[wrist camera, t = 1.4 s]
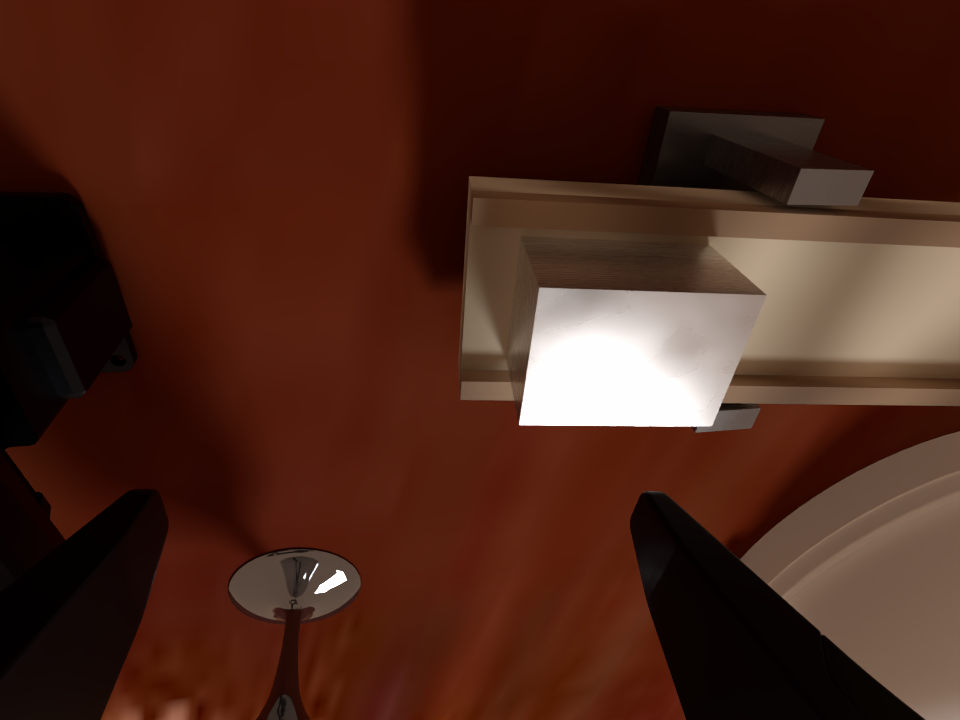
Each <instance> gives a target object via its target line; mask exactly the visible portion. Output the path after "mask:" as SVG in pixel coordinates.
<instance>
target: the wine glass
mask: <svg viewBox="0 0 960 720" xmlns="http://www.w3.org/2000/svg"><path fill="white" fill-rule="evenodd" d="M360 588H361V578H360V574H359V572H358V570H357V569H356V568H355V567H354V566H353V565H352V564H351V563H350V562H349V561H347V560H346V559H344V558H342V557H340V556H338V555H336V554H333V553H330V552H327V551H321V550H316V549H304V548H301V549H286V550H279V551H275V552H271V553H267V554H264V555H261V556H259V557H256V558H254V559H252V560H251V561H249V562H247V563H246V564H244V565H243V566H242V567H240V568H239V569H238V570H237V571H236V572H235V573H234V575H233V576H232V578H231V580H230V582H229V587H228V592H229V597H230V599H231V602H232V603H233V605H234V606H235V607H236V608H237V609H238V610H239V611H241V612H242V613H243V614H245V615H247V616H249V617H251V618H253V619H256V620H259V621H263V622H267V623H273V624H285V629H284V637H283V644H282V649H281V654H280V659H279V663H278V667H277V671H276V675H275V679H274V683H273V686H272V690H271V692H270V695H269V698H268V700H267V702H266V704H265V706H264V707H263V709H262V711H261V713H260V714H259V716H258V717H257V719H256V720H310V718H309V716H308V714H307V713H306V711H305V708H304V706H303V703H302V700H301V696H300V690H299V676H298V643H299V631H300V624H304V623H311V622H315V621H319V620H323V619H325V618H328V617H331V616H333V615H335V614H337V613H339V612H341V611H342V610H344V609H345V608H347V607H348V606H349V605H350V604H351V603H352V602H353V601H354V600H355V598H356V597H357V596H358V593H359V591H360Z"/></svg>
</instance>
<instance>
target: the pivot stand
mask: <svg viewBox="0 0 960 720" xmlns="http://www.w3.org/2000/svg"><path fill="white" fill-rule="evenodd" d="M824 121H825V119H823V118H819V117H815V116H811V115H807V114H795V113H776V112H757V111H738V110H719V109H700V108H681V107H661V106H657V107H656V111H655V115H654V120H653V124H652V128H651V132H650V137H649V141H648V145H647V149H646V154H645V158H644V162H643V166H642V170H641V175H640V179H639V183H638V185H644V186H663V187H681V188H700V189H718V190H737V191H749V190H750V188H751V187H752V188H754V189H756V190H758V191H760V192H762V193H764V194H766V195H768V196H770V197H772V198H774V199H776V200H778V201H780V202H782V203H784V204H786V205H845V206H858V204H859V202H860V200H861V198H862V195H863V193H864V191H865V189H866V187H867V185H868V183H869V181H870V179H871V177H872V175H873V172H874V170H871V169H868V168H865V167H862V166H859V165H856V164H853V163H850V162H847V161H844V160H841V159H838V158H835V157H832V156H829V155H826V154H823V153H820V152H817V151H814V150H813V148H814V145H815V143H816V140H817V138H818V136H819V133H820V131H821V128H822V126H823V123H824ZM760 409H761V408H760V407H759V406H758V405H757V404H756V403H721V406H720V408H719V411H718V413H717V415H716V418H715V420H714V422H713V425H712V426H691V427H692V429H693V430H694V431H695V433H696V432H709V431H721V430H734V429H747V428H752V425H753V423H754V421H755V419H756V417H757V415H758V413H759V411H760Z"/></svg>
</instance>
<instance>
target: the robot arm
mask: <svg viewBox="0 0 960 720" xmlns="http://www.w3.org/2000/svg"><path fill="white" fill-rule="evenodd" d="M58 205H61V206H64V207H66V208H67V209H68V210H69V211H70V213H71V217H68V216H65V215H63V214H62V213H61V212H60V211H59V210H58ZM131 328H132V323H131V320H130V317H129V314H128V311H127V308H126V306H125V303H124V300H123V297H122V294H121V291H120V288H119V286H118V283H117V280H116V277H115V274H114V271H113V268H112V266H111V264H110V263H109V262H108V261H107V260H106V259H104V258H103V257H102V255H101V252H100V249H99V246H98V243H97V241H96V238H95V235H94V232H93V229H92V227H91V224H90V221H89V218H88V215H87V213H86V210H85V208H84V206H83V204H82V203H81V202H80V201H79V200H78V199H77V198H75V197H73V196H71V195H69V194H64V193H28V192H0V720H100V719H101V717H102V715H103V712H104V710H105V707H106V705H107V703H108V700H109V698H110V695H111V693H112V691H113V688H114V686H115V683H116V681H117V679H118V676H119V674H120V671H121V669H122V667H123V664H124V662H125V659H126V657H127V654H128V652H129V650H130V647H131V645H132V642H133V640H134V638H135V635H136V633H137V630H138V628H139V625H140V622H141V620H142V617H143V614H144V611H145V608H146V605H147V601H148V598H149V594H150V591H151V587H152V584H153V581H154V577H155V574H156V570H157V567H158V563H159V560H160V556H161V553H162V550H163V546H164V543H165V539H166V536H167V532H168V517H167V514H166V511H165V508H164V505H163V502H162V498H161V495H160V493H159V492H158V491H157V490H154V489H133V490H130V491H128V492H127V493H125V494H124V495H123V496H121V497H120V498H119V499H118V500H116V501H115V502H114V503H113V504H111V505H110V506H109V507H107V508H106V509H105V510H104V511H102V512H101V513H100V514H99V515H97V516H96V517H95V518H94V519H92V520H91V521H90V522H88V523H87V524H86V525H85V526H83V527H82V528H81V529H80V530H78V531H77V532H76V533H75V534H73V535H72V536H71V537H69V538H68V539H67V540H65V539H64V538H63V536H62V535H61V533H60V532H59V531H58V529H57V528H56V527H55V525H54V524H53V523H52V521H51V520H50V511H51V506H50V504H49V502H48V501H47V500H46V498H45V497H44V496H43V494H42V493H40V492H35V490H34V489H33V488H32V486H31V485H30V484H29V482H28V481H27V480H26V478H25V477H24V475H23V474H22V473H21V471H20V470H19V469H18V467H17V466H16V464H15V463H14V462H13V460H12V459H11V458H10V456H9V455H8V454H7V452H6V451H5V449H6V448H9V447H16V446H30V445H33V444H35V443H36V442H37V441H38V440H39V438H40V437H41V436H42V434H43V433H44V432H45V430H46V429H47V428H48V426H49V425H50V424H51V422H52V421H53V419H54V418H55V417H56V415H57V414H58V413H59V411H60V410H61V409H62V407H63V406H64V405H65V403H66V402H67V400H68V399H74V398H80V397H82V396H83V395H84V394H85V392H86V391H87V390H88V389H89V387H90V386H91V384H92V383H93V382H94V380H95V379H96V377H97V376H98V375H99V373H104V372H123V371H128V370H129V369H131V368H132V367H133V365H134V363H135V362H136V360H137V353H136V350H135V347H134V344H133V342H132V339H131V336H130V333H129V331H130V329H131ZM115 355H120V356H122V357H124V358H125V360H120V359H118V358H116V356H115ZM630 529H631V534H632V539H633V543H634V548H635V552H636V557H637V561H638V566H639V570H640V575H641V579H642V584H643V588H644V592H645V596H646V600H647V604H648V607H649V610H650V613H651V616H652V619H653V622H654V625H655V628H656V631H657V634H658V637H659V640H660V643H661V646H662V649H663V652H664V655H665V658H666V661H667V664H668V667H669V670H670V673H671V676H672V679H673V682H674V685H675V688H676V691H677V694H678V697H679V700H680V703H681V706H682V709H683V712H684V715H685V718H686V720H925V719H924V718H923V717H922V716H920V715H919V714H918V713H917V712H915V711H914V710H913V709H911V708H910V707H909V706H908V705H906V704H905V703H904V702H903V701H902V700H900V699H899V698H898V697H897V696H895V695H894V694H893V693H892V692H890V691H889V690H888V689H887V688H886V687H884V686H883V685H882V684H881V683H879V682H878V681H877V680H876V679H874V678H873V677H872V676H871V675H870V674H869V673H867V672H866V671H865V670H864V669H863V668H862V667H860V666H859V665H858V664H857V663H856V662H855V661H854V660H852V659H851V658H850V657H849V656H848V655H847V654H845V653H844V652H843V651H842V650H841V649H840V648H839V647H837V646H836V645H835V644H834V643H833V642H832V641H831V640H830V639H829V638H827V637H826V636H825V635H821V632H820V631H819V630H818V629H817V628H816V627H815V626H814V625H813V624H811V623H810V622H809V621H808V620H807V619H806V618H805V617H804V616H803V615H801V614H800V613H799V612H798V611H797V610H796V609H795V608H794V607H792V606H791V605H790V604H789V603H788V602H787V601H786V600H785V599H783V598H782V597H781V596H780V595H779V594H778V593H777V592H776V591H774V590H773V589H772V588H771V587H770V586H769V585H768V584H767V583H765V582H764V581H763V580H762V579H761V578H760V577H759V576H758V575H756V574H755V573H754V572H753V571H752V570H751V569H750V568H749V567H748V566H746V565H745V564H744V563H743V562H742V561H741V560H740V559H739V558H737V557H736V556H735V555H734V554H733V553H732V552H731V551H730V550H728V549H727V548H726V547H725V546H724V545H723V544H722V543H721V542H719V541H718V540H717V539H716V538H715V537H714V536H713V535H712V534H710V533H709V532H708V531H707V530H706V529H705V528H704V527H703V526H702V525H700V524H699V523H698V522H697V521H696V520H695V519H694V518H693V517H691V516H690V515H689V514H688V513H687V512H686V511H685V510H684V509H682V508H681V507H680V506H679V505H678V504H677V503H676V502H675V501H673V500H672V499H671V498H670V497H669V496H668V495H667V494H665V493H664V492H661V491H645V492H643V493H642V494H641V495H640V497H639V499H638V502H637V504H636V506H635V509H634V511H633V513H632V515H631V519H630Z"/></svg>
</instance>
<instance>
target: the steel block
mask: <svg viewBox="0 0 960 720" xmlns="http://www.w3.org/2000/svg"><path fill="white" fill-rule="evenodd" d="M766 297H767V295H766V294H765V293H764V292H763V291H762V290H761V289H759V288H758V287H757V286H756V285H755V284H754V283H753V282H751V281H750V280H749V279H748V278H747V277H746V276H745V275H743V274H742V273H741V272H740V271H739V270H738V269H737V268H735V267H734V266H733V265H732V264H731V263H730V262H729V261H728V260H726V259H725V258H724V257H723V256H722V255H721V254H720V253H718V252H717V251H716V250H715V249H714V248H713V247H712V246H710V245H709V244H692V243H669V242H646V241H623V240H600V239H576V238H553V237H530V236H521V237H520V245H519V253H518V262H517V270H516V279H515V287H514V296H513V304H512V313H511V321H510V329H509V338H508V346H507V355H506V361H507V366H508V372H509V377H510V382H511V387H512V392H513V397H514V402H515V407H516V412H517V417H518V422H519V425H585V426H712V425H713V422H714V420H715V418H716V415H717V413H718V411H719V408H720V406H721V403H722V401H723V399H724V396H725V394H726V392H727V389H728V387H729V384H730V382H731V380H732V377H733V375H734V373H735V370H736V368H737V365H738V363H739V361H740V358H741V356H742V354H743V351H744V349H745V346H746V344H747V342H748V339H749V337H750V335H751V332H752V330H753V327H754V325H755V323H756V320H757V318H758V316H759V313H760V311H761V309H762V306H763V304H764V301H765V299H766Z"/></svg>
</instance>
